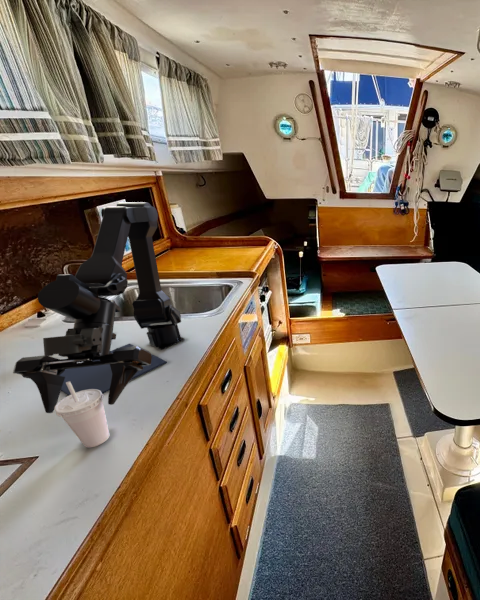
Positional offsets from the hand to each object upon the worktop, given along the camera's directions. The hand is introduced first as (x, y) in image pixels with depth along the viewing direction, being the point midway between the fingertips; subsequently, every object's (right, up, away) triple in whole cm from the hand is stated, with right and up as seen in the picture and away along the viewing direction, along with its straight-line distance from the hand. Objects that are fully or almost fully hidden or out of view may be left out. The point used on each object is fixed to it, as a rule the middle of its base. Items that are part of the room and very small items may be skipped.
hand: (80, 408), depth 58 cm
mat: (-16, +2, +23) cm, 28 cm away
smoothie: (0, -7, +4) cm, 8 cm away
